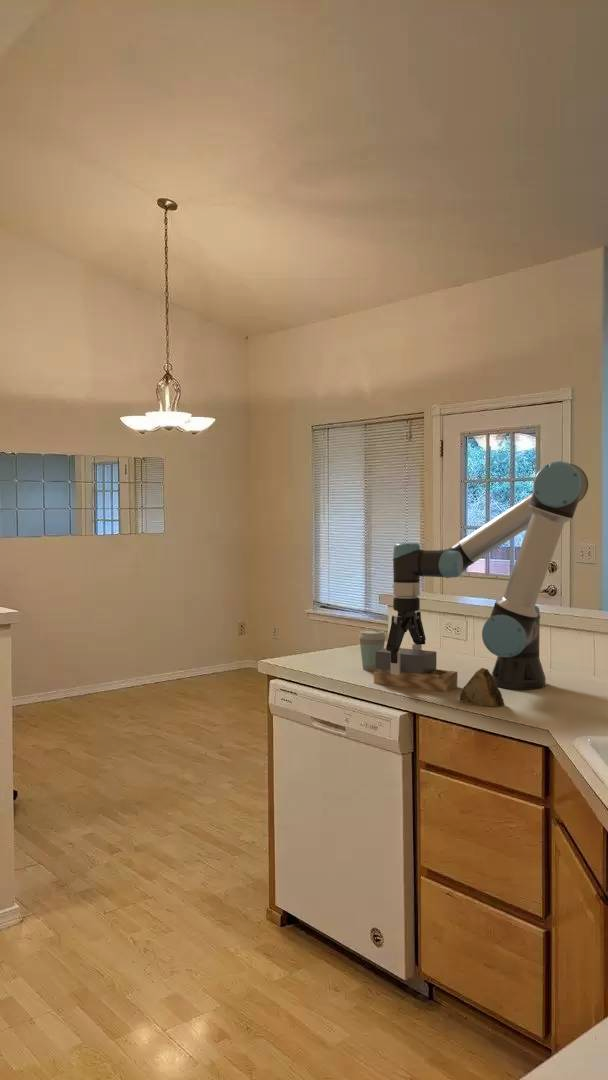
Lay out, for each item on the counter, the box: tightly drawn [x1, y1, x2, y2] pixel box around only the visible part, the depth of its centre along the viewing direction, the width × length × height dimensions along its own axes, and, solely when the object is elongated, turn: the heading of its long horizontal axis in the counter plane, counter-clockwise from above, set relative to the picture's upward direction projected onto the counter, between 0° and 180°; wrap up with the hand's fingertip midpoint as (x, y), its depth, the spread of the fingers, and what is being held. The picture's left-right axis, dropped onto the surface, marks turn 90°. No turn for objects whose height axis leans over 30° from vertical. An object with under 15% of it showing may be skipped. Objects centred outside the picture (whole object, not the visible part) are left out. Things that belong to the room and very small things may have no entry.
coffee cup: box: [358, 629, 387, 672], centre depth 267 cm, size 8×8×12 cm
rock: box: [459, 667, 506, 708], centre depth 221 cm, size 11×9×10 cm
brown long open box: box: [373, 668, 458, 693], centre depth 244 cm, size 22×8×4 cm, turn 56°
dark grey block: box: [376, 647, 437, 674], centre depth 245 cm, size 15×9×8 cm, turn 56°
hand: (406, 670), depth 245 cm, fingers open, 13 cm apart
